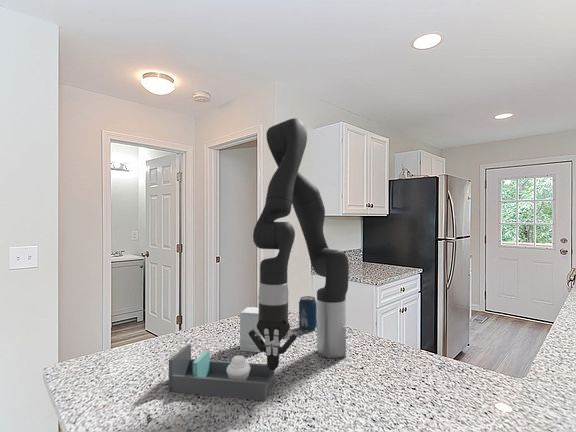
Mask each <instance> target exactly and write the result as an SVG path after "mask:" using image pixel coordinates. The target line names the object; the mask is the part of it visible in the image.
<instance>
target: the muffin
mask: <svg viewBox="0 0 576 432" xmlns="http://www.w3.org/2000/svg"><path fill="white" fill-rule="evenodd" d="M230 362H231V363H230V365H229V366H228V367H227V370H226V371H227V374H228V377H229V379H233V380H244V381H246V379H247V377H248V375H249V372H250V369H251V367H250V365H249V364H248V363H249V362H247V361H246V358H245V357H244V356H243V355H235V356H234V357H232V359H231V361H230Z"/></svg>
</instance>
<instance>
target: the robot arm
mask: <svg viewBox="0 0 576 432" xmlns="http://www.w3.org/2000/svg"><path fill="white" fill-rule="evenodd" d="M265 134H266V142H267V145H268V149H269V151H270V153H271V156H272V158H273V160H274V162H275V163H276V166H277V168H276V170H275V172H274V173H273V174H272V177H271V179H270V181H269V183H268V186H267V192H266V198H265V205H264V207H263V209H262V212H261V214H260V216H259V217H258V220H257V221H256V224H255V225H254V228H253V232H252V240H253V243H254V246H256V248H258V249H261V250H278V254H276V256H274V257H269V258H264V259H262V260H261V261H260V262H259V263H260V265H259V289H258V296H257V298H258V308H259V320H258V323H257V327H255V328H253V329H252V330H251V331H250V332H249V336H250V337H251V339H252V340H253V342H254V343H255V345H256V346H257V347H258V349H259V350H260V352H259V353H265V354H266V364H267V367H269V370H274V371H276V370H277V369H278V367H279V365H280V355H284V354H285V353H286V352H287V350H288V349H289V348H290V347H291V346H292V344H294V342H295V340H297V337H298V335H299V334H298V331H294V330H293V329H291V325H290V323H289V287H288V285H289V284H288V269H289V268H288V266H289V261H290V256H291V251H292V248H293V246H294V245H293V244H294V242H295V237H296V232H295V228H294V226H293V225H292V224H291V223H290V222H289V221H276V220H278V219H282V218H286V217H288V216H289V215H290V214H291V211H292V208H293V210H294V213H295V216H296V218H297V220H298V223H299V226H300V228H301V232H302V235H303V237H304V240H305V244H306V248H307V252H308V255H309V261H310V264H311V267H312V269H313V271H314V272H315V274H316V275H318V276H320V277H322V278H323V277H324V278H325V281H324V283H325V284H324V286H323V287H321V288H319V289H318V290H317V291H316V303H317V326H316V349H317V350H316V351H317V352H316V353H317V354H318V355H319V356H321V357H323V358H328V359H338V358H346V357H347V322H346V321H347V319H346V318H347V315H346V312H347V311H346V309H347V308H346V303H347V302H346V296H347V292H348V290H349V276H350V275H349V274H350V266H349V265H350V264H349V263H350V262H349V259H348V256H347V254H346V253H345V252H344V251H342V250H339V249H332V248H331V249H330V248H329V245H328V243H327V240H326V238H325V235H324V234H325V233H324V223H325V217H326V216H325V215H326V208H325V205H324V201H323V199H322V195H321V192H320V190H319V188H318V187H317V186H316V184H315V183H314V182H313V181H311V180H310V178H308V177H307V176H306V175H305V174H303V173H302V172H301V170H299V169H300V168H301V167H300V166H301V163H302V161H303V156H304V154H305V150H306V148H307V143H308V133H307V128H306V126H305V124H304V123H303V122H302V121H301V120H300V119H299V118H290V119H287V120H284V121H282V122H279V123H277V124H275V125H272V126H270V127H269V128H268V129H267V131H266V133H265ZM259 332H260V333H259ZM259 334H261V335H262V337H263V338H264V339H265V342H264V341H263V340H262V338H261V337H260V335H259ZM286 335H287V336H286ZM285 336H286V337H287V340H285V342H284V343H283V345H282V346H281V341H282V340H283V339H284V338H285Z"/></svg>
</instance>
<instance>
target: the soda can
mask: <svg viewBox="0 0 576 432" xmlns="http://www.w3.org/2000/svg"><path fill="white" fill-rule="evenodd" d="M298 325H299V328H300V330H302V331H304V332H312V331H315V330H316V329H317V299H316V298H315V297H314V296H306V295H304V296H301V297H300V299H299V302H298Z"/></svg>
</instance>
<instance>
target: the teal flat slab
mask: <svg viewBox="0 0 576 432" xmlns="http://www.w3.org/2000/svg"><path fill="white" fill-rule="evenodd" d="M210 354H211V352H210V350H207V349H206V350H204V351H203V352H202V353H201V354H200V355H199V356H198V357H197V358H195V359H196V360H195V361H194V362H193V376H198V377H206V376H207V375H208V374H209V373H210V360H211V358H210V357H211V355H210Z"/></svg>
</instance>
